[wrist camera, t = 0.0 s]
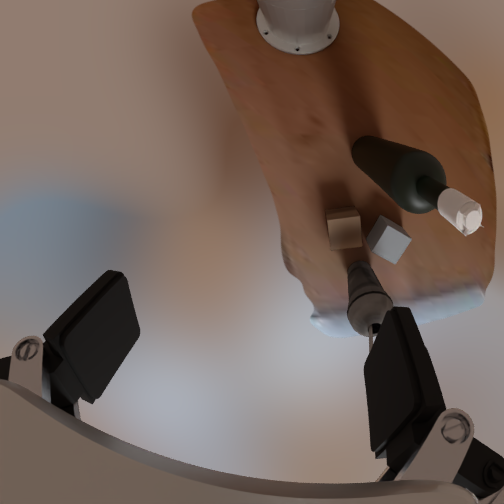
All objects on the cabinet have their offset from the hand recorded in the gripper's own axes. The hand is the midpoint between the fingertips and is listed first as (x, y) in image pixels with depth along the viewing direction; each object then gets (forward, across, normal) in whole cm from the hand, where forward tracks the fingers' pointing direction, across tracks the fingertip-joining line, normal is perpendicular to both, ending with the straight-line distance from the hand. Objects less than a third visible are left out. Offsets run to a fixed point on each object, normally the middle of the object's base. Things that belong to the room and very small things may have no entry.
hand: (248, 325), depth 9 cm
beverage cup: (+37, -14, +18) cm, 44 cm away
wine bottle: (+37, -12, -3) cm, 39 cm away
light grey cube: (+37, -17, +10) cm, 42 cm away
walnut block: (+37, -9, +9) cm, 39 cm away
